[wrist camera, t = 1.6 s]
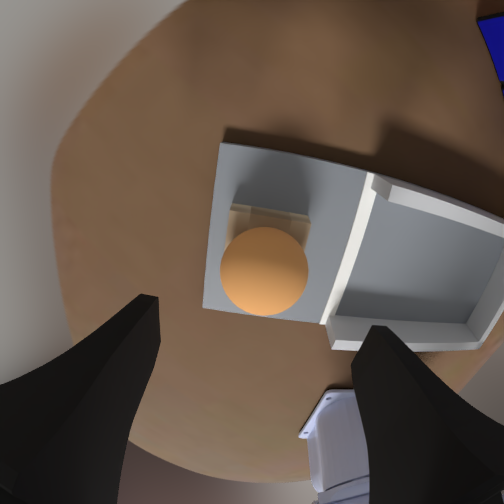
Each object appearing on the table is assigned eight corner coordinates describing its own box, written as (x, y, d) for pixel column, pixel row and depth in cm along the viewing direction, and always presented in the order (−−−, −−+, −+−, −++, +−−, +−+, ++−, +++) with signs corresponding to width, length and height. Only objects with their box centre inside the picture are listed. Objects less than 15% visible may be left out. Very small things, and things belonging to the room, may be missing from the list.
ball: (292, 288, 16) (300, 338, 12) (221, 278, 16) (210, 326, 12) (310, 222, 14) (327, 260, 10) (230, 208, 14) (219, 243, 10)
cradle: (291, 279, 17) (293, 291, 16) (223, 269, 16) (220, 280, 15) (307, 215, 15) (311, 223, 14) (232, 203, 15) (229, 210, 14)
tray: (462, 325, 20) (479, 348, 17) (204, 300, 18) (195, 333, 16) (511, 222, 15) (536, 239, 12) (222, 141, 14) (212, 148, 11)
